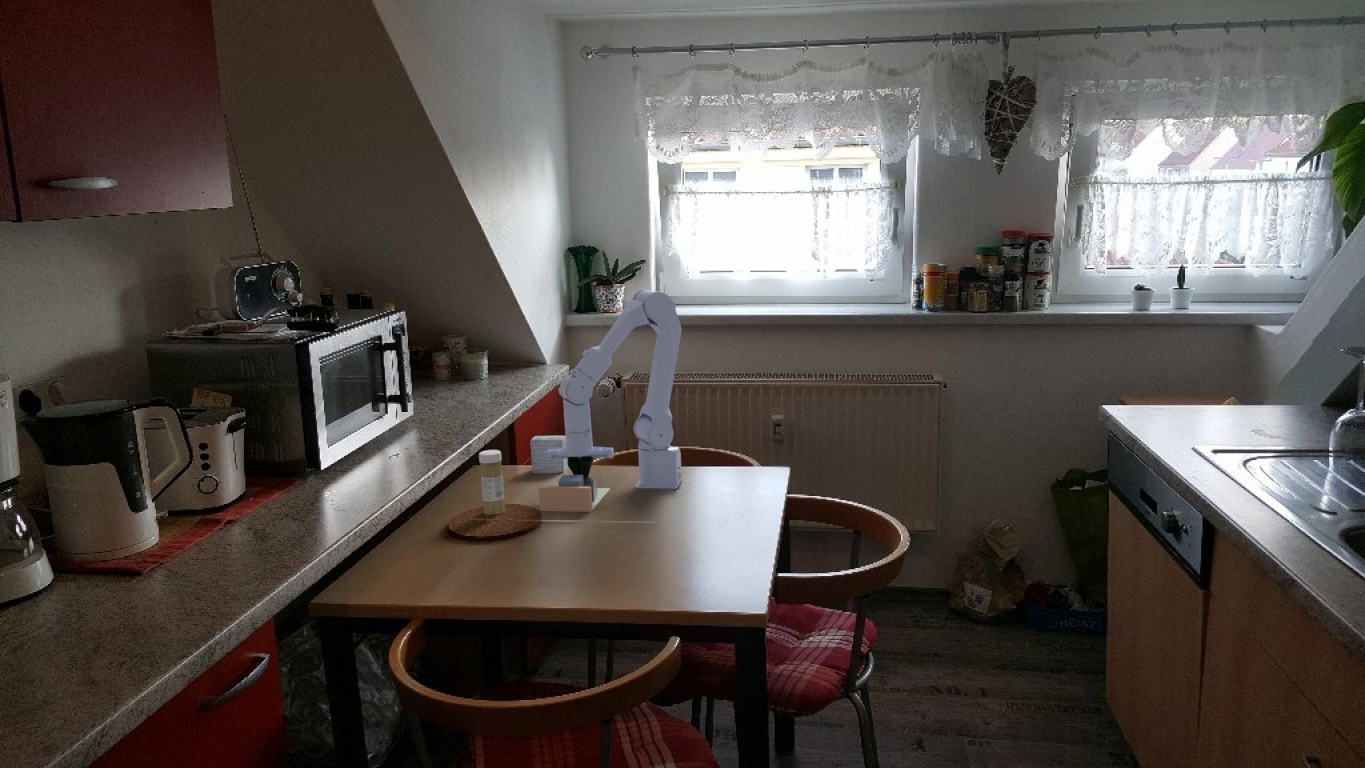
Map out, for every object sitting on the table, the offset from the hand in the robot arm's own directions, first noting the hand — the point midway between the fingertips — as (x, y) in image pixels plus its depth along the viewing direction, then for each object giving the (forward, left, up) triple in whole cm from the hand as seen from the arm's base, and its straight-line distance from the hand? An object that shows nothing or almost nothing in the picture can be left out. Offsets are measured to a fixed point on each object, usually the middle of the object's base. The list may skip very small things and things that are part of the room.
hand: (583, 489), depth 216 cm
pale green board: (0, +4, -1) cm, 4 cm away
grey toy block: (0, +1, +1) cm, 2 cm away
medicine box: (+13, -19, -2) cm, 23 cm away
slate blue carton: (0, +9, -1) cm, 9 cm away
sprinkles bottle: (+15, +14, -2) cm, 21 cm away
